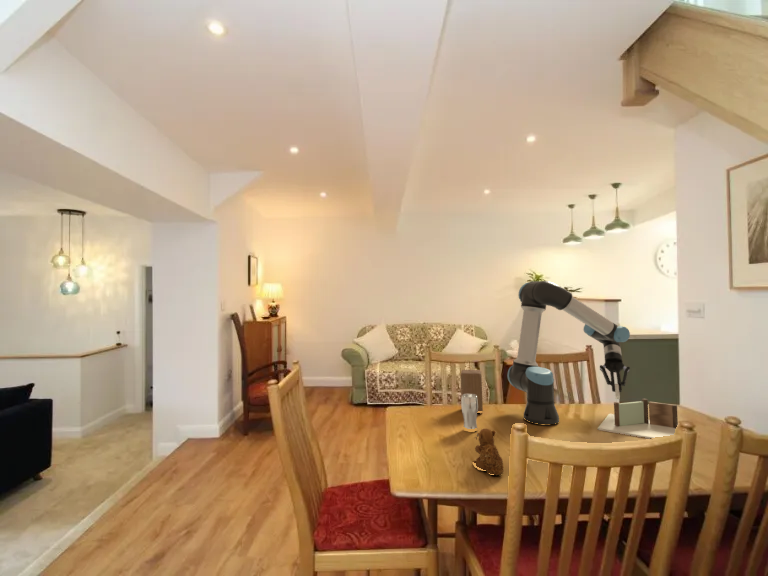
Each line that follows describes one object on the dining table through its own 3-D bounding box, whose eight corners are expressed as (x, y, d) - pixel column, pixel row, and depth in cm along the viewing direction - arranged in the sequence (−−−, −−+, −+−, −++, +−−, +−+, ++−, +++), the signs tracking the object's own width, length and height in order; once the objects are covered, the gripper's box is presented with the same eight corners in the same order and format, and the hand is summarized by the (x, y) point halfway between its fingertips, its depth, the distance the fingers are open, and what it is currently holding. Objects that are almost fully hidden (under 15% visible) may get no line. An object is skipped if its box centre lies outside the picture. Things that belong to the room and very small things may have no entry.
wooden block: (461, 413, 192) (460, 373, 192) (462, 408, 201) (461, 369, 202) (482, 414, 189) (481, 373, 190) (482, 408, 199) (481, 369, 199)
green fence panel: (617, 426, 165) (616, 403, 165) (613, 424, 166) (612, 402, 167) (644, 423, 167) (643, 400, 167) (641, 421, 169) (640, 399, 169)
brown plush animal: (498, 461, 137) (497, 423, 137) (512, 480, 123) (510, 438, 123) (470, 462, 137) (469, 424, 137) (480, 481, 122) (479, 439, 123)
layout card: (597, 429, 164) (597, 427, 164) (609, 415, 183) (609, 413, 183) (677, 443, 147) (677, 441, 147) (681, 426, 165) (681, 424, 165)
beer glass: (465, 426, 173) (464, 392, 173) (480, 429, 170) (479, 394, 170) (459, 431, 167) (458, 396, 167) (475, 434, 164) (474, 398, 164)
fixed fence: (642, 425, 168) (641, 399, 168) (643, 423, 170) (642, 398, 170) (677, 430, 160) (676, 403, 161) (678, 429, 162) (677, 402, 162)
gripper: (627, 361, 195) (633, 403, 179) (598, 359, 200) (601, 400, 185) (628, 351, 190) (635, 394, 175) (598, 350, 196) (601, 391, 180)
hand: (617, 397), depth 180 cm, fingers closed
